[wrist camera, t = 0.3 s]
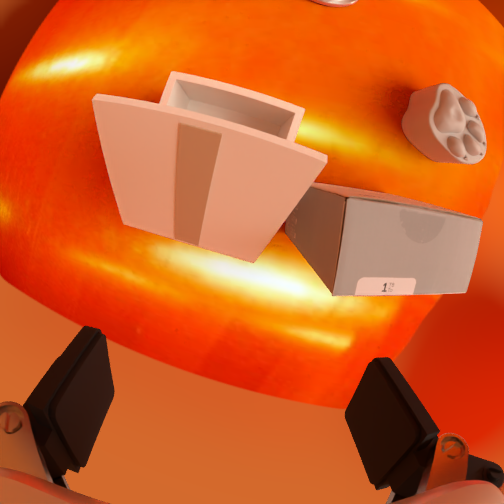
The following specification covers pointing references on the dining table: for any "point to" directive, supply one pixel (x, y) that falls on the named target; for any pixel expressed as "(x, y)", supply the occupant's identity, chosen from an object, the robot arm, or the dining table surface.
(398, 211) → the hard drive box
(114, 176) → the lid flap
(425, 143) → the lumpy-topped squat cylinder
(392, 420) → the robot arm
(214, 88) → the carton
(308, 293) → the dining table surface
